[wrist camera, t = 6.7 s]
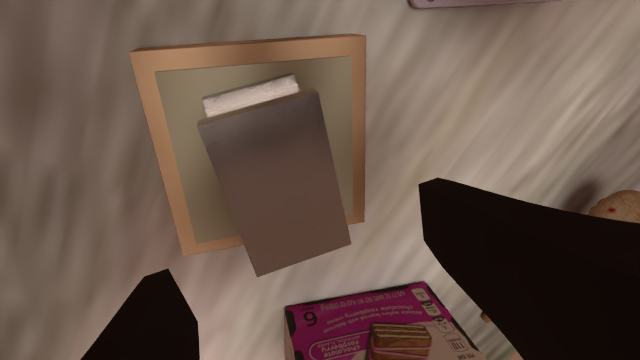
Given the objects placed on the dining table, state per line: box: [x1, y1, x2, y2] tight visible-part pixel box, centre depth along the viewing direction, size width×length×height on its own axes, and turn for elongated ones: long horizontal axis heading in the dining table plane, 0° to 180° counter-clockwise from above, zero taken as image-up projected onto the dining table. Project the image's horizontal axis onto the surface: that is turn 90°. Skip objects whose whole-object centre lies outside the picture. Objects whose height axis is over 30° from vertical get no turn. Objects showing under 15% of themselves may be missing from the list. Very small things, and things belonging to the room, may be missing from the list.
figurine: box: [481, 190, 640, 322], centre depth 27 cm, size 4×4×15 cm
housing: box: [197, 72, 351, 277], centre depth 15 cm, size 4×6×5 cm, turn 14°
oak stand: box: [129, 34, 366, 256], centre depth 18 cm, size 10×10×2 cm
